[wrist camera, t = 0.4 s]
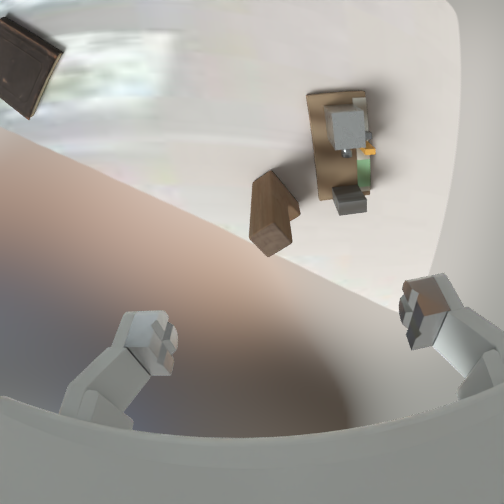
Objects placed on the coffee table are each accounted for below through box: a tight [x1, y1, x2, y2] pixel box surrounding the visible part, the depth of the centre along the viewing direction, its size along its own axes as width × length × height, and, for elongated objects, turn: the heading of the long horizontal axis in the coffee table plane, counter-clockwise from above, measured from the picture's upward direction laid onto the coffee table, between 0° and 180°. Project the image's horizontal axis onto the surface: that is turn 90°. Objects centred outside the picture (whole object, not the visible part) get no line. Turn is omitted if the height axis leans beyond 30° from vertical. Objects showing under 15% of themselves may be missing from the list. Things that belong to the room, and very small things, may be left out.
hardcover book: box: [0, 17, 63, 120], centre depth 36 cm, size 16×23×2 cm
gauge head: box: [324, 104, 372, 158], centre depth 43 cm, size 8×8×6 cm
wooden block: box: [249, 171, 300, 257], centre depth 49 cm, size 9×4×18 cm, turn 39°
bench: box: [306, 91, 370, 216], centre depth 46 cm, size 20×10×8 cm, turn 11°
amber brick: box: [360, 141, 376, 155], centre depth 45 cm, size 1×2×4 cm, turn 102°
